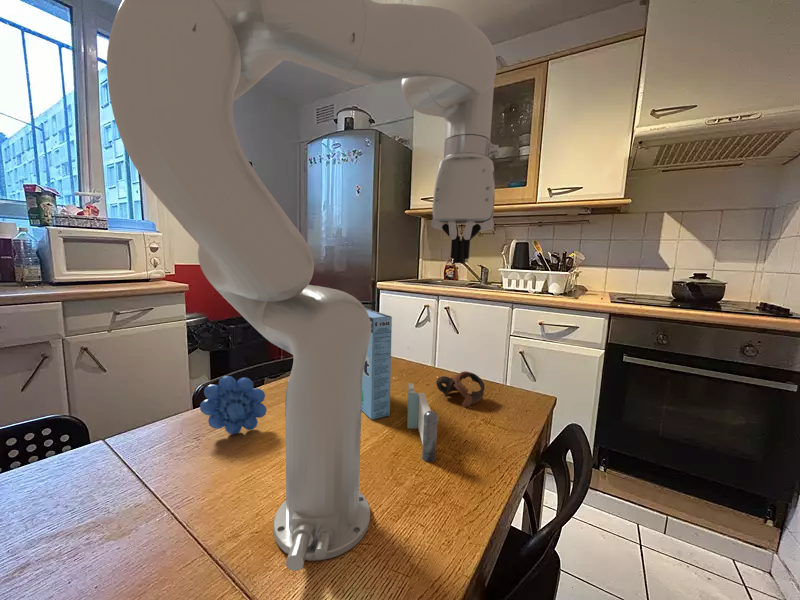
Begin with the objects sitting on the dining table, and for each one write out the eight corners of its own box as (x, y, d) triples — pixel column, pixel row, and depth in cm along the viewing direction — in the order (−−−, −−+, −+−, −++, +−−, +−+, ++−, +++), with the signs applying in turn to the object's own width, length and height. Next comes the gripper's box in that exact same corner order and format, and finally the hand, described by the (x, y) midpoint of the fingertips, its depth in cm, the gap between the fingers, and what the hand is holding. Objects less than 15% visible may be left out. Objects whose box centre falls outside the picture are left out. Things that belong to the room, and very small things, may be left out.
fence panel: (414, 423, 74) (415, 397, 73) (409, 423, 74) (410, 397, 73) (412, 407, 82) (413, 383, 81) (407, 407, 82) (408, 383, 81)
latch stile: (417, 428, 72) (418, 396, 71) (407, 428, 72) (409, 396, 71) (416, 423, 74) (417, 392, 73) (407, 423, 74) (408, 392, 73)
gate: (431, 452, 63) (433, 417, 62) (423, 452, 63) (425, 417, 62) (422, 423, 74) (424, 392, 73) (416, 423, 74) (417, 392, 73)
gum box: (390, 416, 77) (393, 316, 74) (369, 421, 74) (372, 317, 71) (354, 386, 93) (356, 303, 90) (337, 389, 91) (338, 304, 88)
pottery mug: (471, 392, 94) (484, 372, 89) (476, 421, 86) (491, 401, 81) (430, 381, 92) (441, 360, 88) (431, 410, 84) (443, 389, 80)
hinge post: (436, 462, 60) (439, 414, 59) (422, 462, 60) (424, 414, 59) (435, 454, 63) (437, 408, 62) (420, 453, 63) (423, 407, 62)
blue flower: (200, 452, 61) (198, 387, 59) (201, 434, 66) (198, 375, 65) (270, 437, 66) (269, 378, 65) (265, 422, 72) (264, 367, 71)
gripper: (512, 157, 59) (504, 264, 61) (428, 161, 63) (423, 261, 66) (512, 144, 52) (503, 265, 54) (417, 149, 56) (412, 261, 59)
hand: (459, 262), depth 60 cm, fingers closed
